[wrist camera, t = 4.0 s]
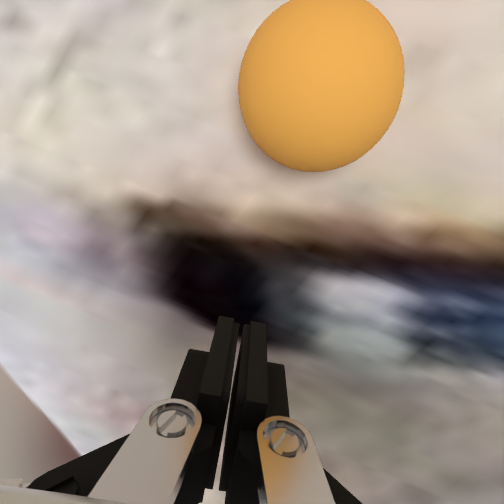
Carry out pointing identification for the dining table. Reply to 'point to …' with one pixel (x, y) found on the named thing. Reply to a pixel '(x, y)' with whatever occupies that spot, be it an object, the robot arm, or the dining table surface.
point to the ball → (321, 82)
